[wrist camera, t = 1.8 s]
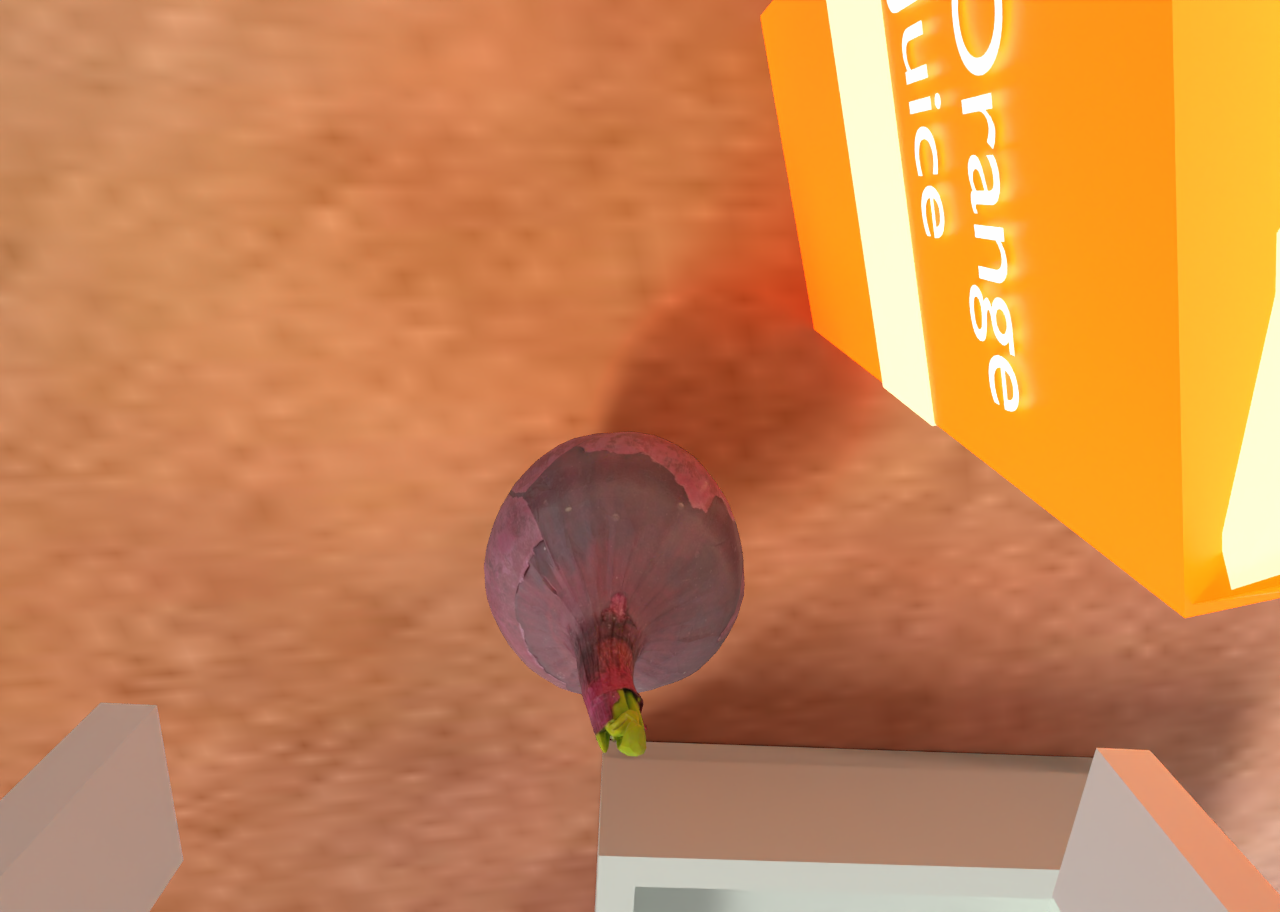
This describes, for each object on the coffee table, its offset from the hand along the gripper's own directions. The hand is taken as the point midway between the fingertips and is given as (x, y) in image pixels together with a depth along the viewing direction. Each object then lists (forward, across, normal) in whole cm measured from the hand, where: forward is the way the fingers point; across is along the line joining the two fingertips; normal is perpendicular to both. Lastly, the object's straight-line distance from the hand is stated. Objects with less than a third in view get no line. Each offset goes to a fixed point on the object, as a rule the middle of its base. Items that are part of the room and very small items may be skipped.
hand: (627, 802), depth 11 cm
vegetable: (+12, 0, 0) cm, 12 cm away
